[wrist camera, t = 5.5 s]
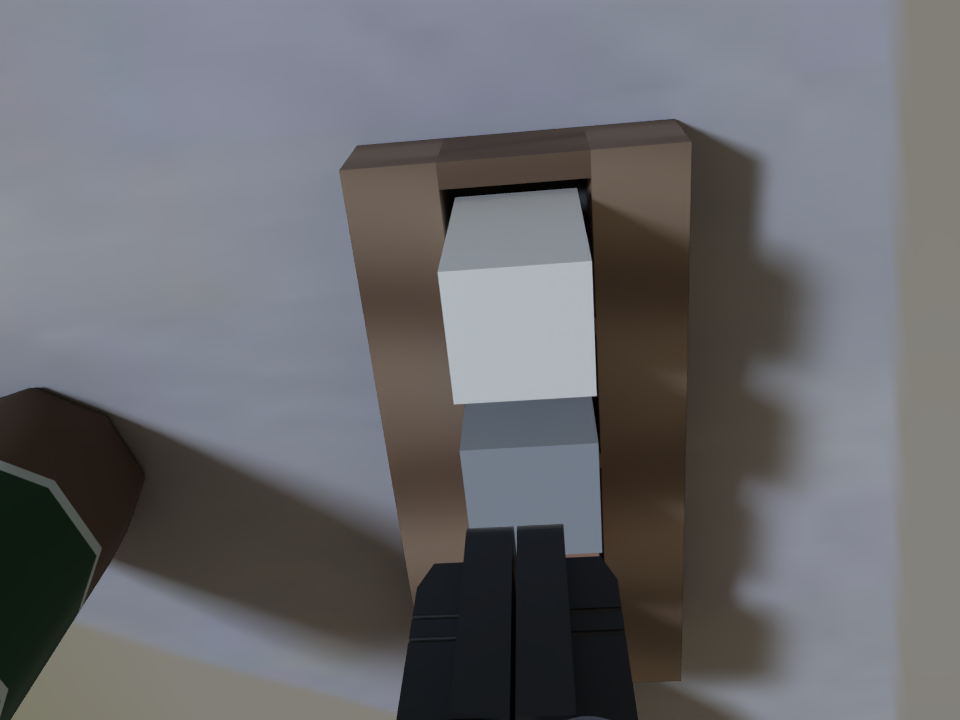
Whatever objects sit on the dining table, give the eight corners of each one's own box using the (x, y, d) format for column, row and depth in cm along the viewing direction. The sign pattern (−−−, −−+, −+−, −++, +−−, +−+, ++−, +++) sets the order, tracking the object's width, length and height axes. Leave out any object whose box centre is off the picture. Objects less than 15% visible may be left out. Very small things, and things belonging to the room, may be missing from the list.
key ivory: (455, 197, 25) (437, 272, 20) (576, 187, 25) (591, 260, 20) (467, 308, 27) (453, 404, 22) (581, 300, 27) (596, 396, 21)
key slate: (471, 347, 28) (459, 450, 22) (583, 340, 27) (598, 443, 22) (481, 441, 29) (472, 558, 24) (587, 435, 29) (602, 552, 24)
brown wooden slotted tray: (356, 145, 27) (338, 170, 25) (674, 118, 27) (691, 141, 24) (434, 633, 37) (427, 688, 34) (669, 624, 36) (680, 680, 33)
